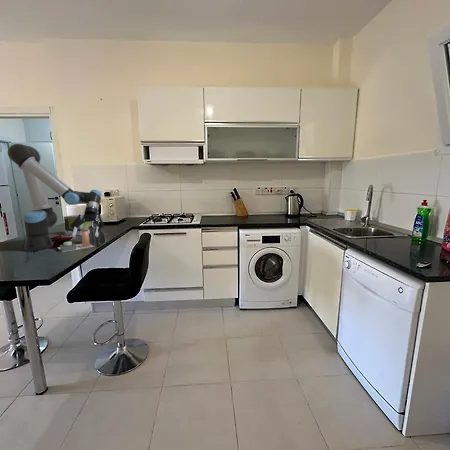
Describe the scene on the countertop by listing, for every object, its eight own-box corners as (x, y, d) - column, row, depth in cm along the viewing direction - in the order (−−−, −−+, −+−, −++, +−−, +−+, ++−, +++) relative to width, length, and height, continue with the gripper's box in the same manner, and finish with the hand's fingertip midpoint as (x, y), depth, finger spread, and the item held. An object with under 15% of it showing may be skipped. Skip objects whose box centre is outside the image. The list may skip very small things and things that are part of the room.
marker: (83, 247, 166) (81, 229, 164) (81, 246, 169) (79, 228, 167) (90, 246, 169) (89, 228, 167) (88, 245, 172) (87, 227, 170)
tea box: (90, 233, 215) (88, 215, 212) (80, 235, 205) (78, 217, 203) (75, 232, 219) (73, 214, 216) (65, 234, 209) (63, 216, 207)
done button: (64, 247, 159) (64, 243, 158) (63, 246, 162) (62, 242, 162) (73, 246, 162) (72, 242, 161) (71, 245, 165) (70, 241, 165)
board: (62, 253, 157) (62, 251, 157) (57, 249, 167) (57, 247, 167) (94, 248, 169) (94, 246, 169) (88, 244, 179) (88, 242, 179)
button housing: (63, 251, 157) (62, 247, 157) (60, 249, 162) (60, 245, 162) (76, 249, 162) (75, 245, 162) (73, 247, 167) (72, 243, 167)
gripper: (112, 212, 183) (107, 239, 171) (74, 213, 180) (66, 240, 168) (109, 205, 177) (104, 232, 165) (69, 206, 174) (61, 233, 162)
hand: (85, 236), depth 167 cm, fingers open, 13 cm apart
